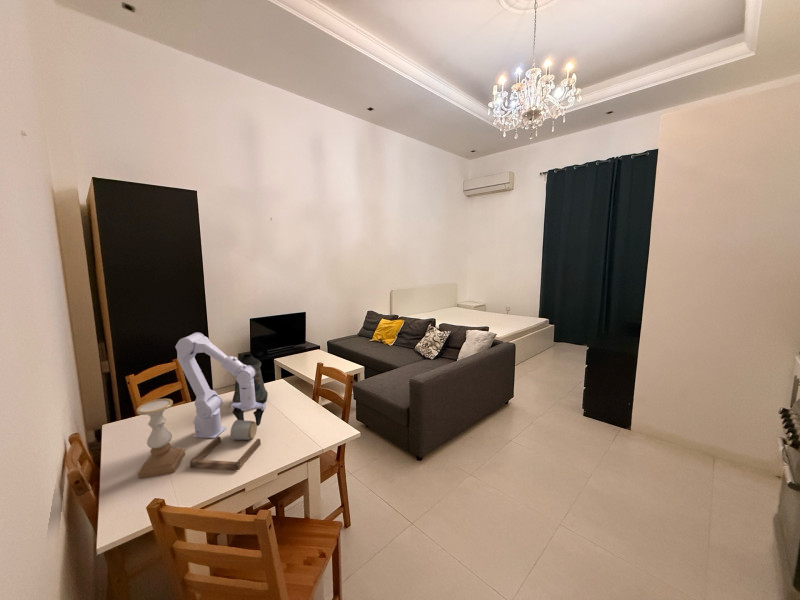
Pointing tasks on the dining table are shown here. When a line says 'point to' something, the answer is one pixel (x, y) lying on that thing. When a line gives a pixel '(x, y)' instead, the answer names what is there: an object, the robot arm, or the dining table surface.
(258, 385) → the beer stein
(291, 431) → the dining table surface
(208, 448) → the walnut dock
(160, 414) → the candle holder
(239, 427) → the ceramic mug
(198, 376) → the robot arm
